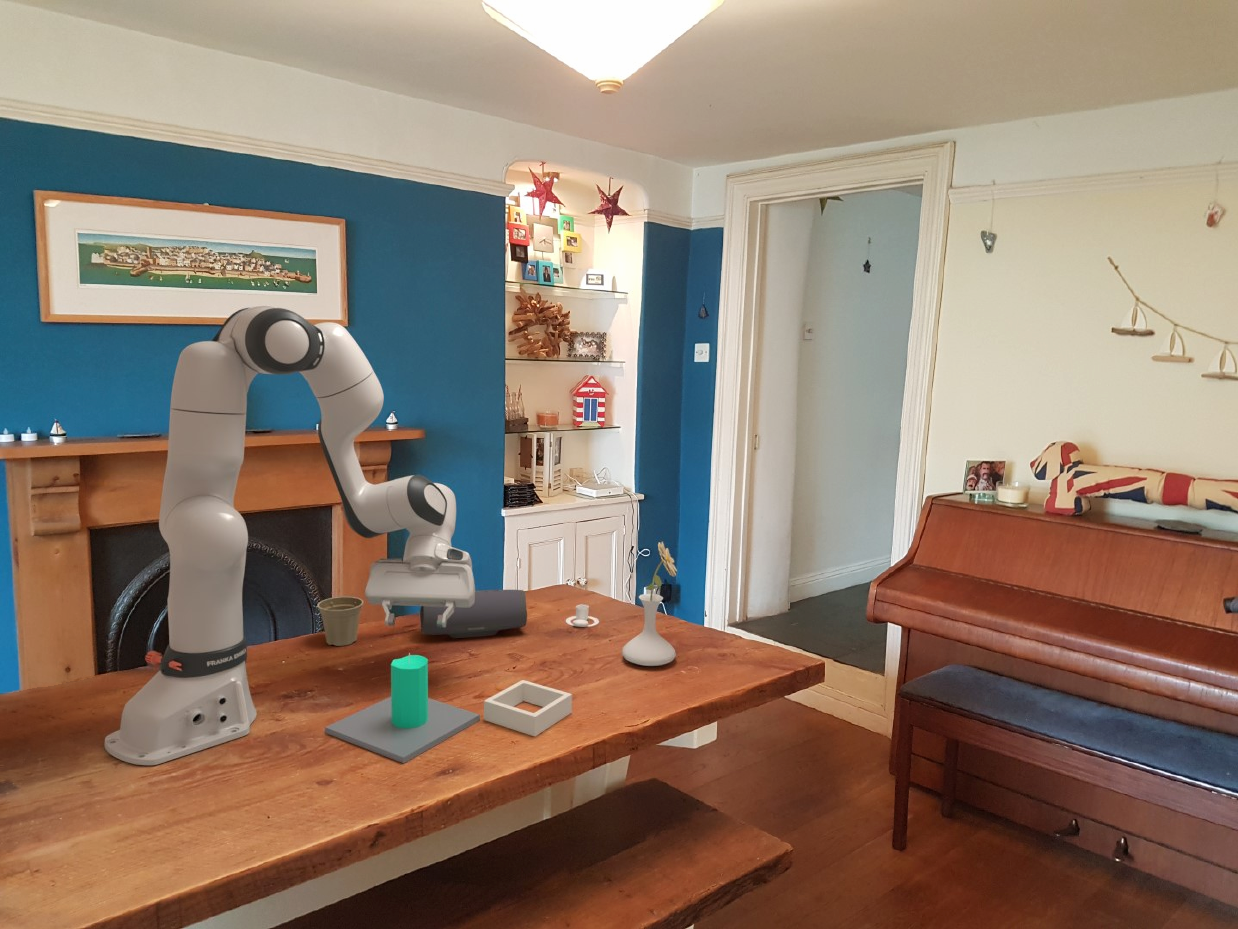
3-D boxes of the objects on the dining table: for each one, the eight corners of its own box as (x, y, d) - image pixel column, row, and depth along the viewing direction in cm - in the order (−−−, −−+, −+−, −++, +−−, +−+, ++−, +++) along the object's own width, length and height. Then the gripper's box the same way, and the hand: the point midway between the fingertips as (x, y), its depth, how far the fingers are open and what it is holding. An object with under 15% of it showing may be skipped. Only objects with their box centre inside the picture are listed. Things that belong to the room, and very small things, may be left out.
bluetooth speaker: (519, 623, 192) (519, 582, 191) (527, 637, 183) (528, 594, 182) (419, 631, 185) (419, 588, 183) (423, 646, 176) (423, 601, 175)
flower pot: (334, 653, 170) (334, 613, 169) (309, 642, 176) (308, 603, 175) (372, 641, 178) (372, 602, 177) (347, 631, 184) (346, 593, 182)
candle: (427, 711, 143) (426, 645, 141) (428, 726, 137) (428, 658, 135) (391, 714, 141) (390, 647, 139) (391, 730, 135) (390, 661, 134)
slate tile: (403, 763, 127) (403, 757, 127) (325, 732, 136) (324, 727, 136) (479, 720, 142) (479, 714, 142) (404, 695, 151) (404, 690, 151)
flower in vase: (659, 675, 164) (664, 554, 160) (611, 662, 170) (614, 545, 166) (688, 656, 175) (693, 542, 171) (642, 644, 181) (646, 534, 177)
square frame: (534, 736, 137) (535, 717, 136) (483, 720, 142) (484, 700, 142) (571, 712, 146) (572, 694, 146) (522, 697, 152) (522, 679, 151)
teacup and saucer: (584, 632, 189) (584, 615, 188) (556, 625, 193) (557, 608, 192) (605, 622, 196) (605, 605, 196) (578, 615, 200) (578, 599, 200)
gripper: (369, 549, 156) (354, 615, 147) (477, 553, 157) (468, 619, 148) (375, 566, 161) (361, 631, 152) (479, 570, 162) (471, 634, 153)
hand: (415, 625), depth 150 cm, fingers open, 8 cm apart
